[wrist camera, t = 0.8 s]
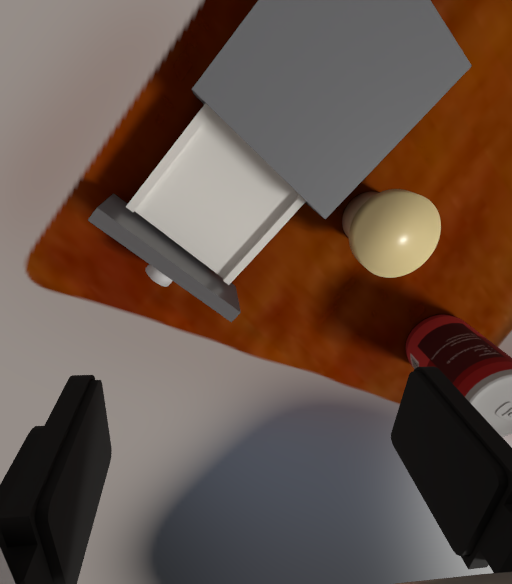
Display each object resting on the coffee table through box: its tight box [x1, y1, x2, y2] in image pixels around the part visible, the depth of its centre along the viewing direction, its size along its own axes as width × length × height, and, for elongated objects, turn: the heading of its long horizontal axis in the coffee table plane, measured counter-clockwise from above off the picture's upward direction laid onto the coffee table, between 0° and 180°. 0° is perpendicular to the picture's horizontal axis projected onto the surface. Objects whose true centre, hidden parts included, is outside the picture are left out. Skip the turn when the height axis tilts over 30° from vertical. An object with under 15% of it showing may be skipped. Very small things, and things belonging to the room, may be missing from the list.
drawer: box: [88, 103, 306, 322], centre depth 30 cm, size 16×14×5 cm
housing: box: [192, 0, 471, 219], centre depth 27 cm, size 14×13×6 cm
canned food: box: [405, 315, 512, 437], centre depth 38 cm, size 8×8×11 cm
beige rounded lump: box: [342, 191, 378, 238], centre depth 33 cm, size 5×5×4 cm
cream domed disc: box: [349, 189, 441, 278], centre depth 30 cm, size 7×7×2 cm
